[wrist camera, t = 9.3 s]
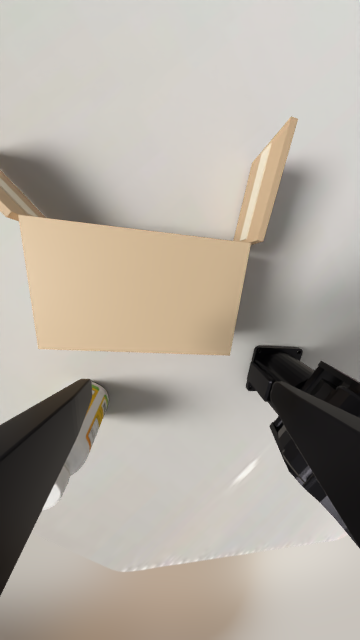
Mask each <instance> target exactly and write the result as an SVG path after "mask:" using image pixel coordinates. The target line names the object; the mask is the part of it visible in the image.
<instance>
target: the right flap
mask: <svg viewBox="0 0 360 640" xmlns="http://www.w3.org/2000/svg"><path fill="white" fill-rule="evenodd" d="M297 121H298V119H297V118H294V117H290V119H289V120H288V121H287V122H286V123H285V125H284V126H283V127H282V128H281V129H280V131H279V132H278V133H277V134H276V135H275V137H274V138H273V139H272V140H271V141H270V142H269V144H268V145H267V146H266V147H265V148H264V150H263V151H262V152H261V153H260V154H259V156H258V157H257V158H256V159H255V160H254V161H253V163H252V166H251V170H250V174H249V178H248V182H247V186H246V191H245V195H244V199H243V203H242V207H241V211H240V215H239V220H238V224H237V228H236V232H235V236H234V240H233V241H237V242H245V243H251V245H253V244H256V243H260V242H263V240H264V237H265V233H266V230H267V226H268V223H269V219H270V216H271V212H272V209H273V205H274V202H275V198H276V195H277V191H278V187H279V184H280V180H281V177H282V173H283V170H284V166H285V163H286V159H287V156H288V152H289V149H290V145H291V142H292V138H293V135H294V131H295V128H296V124H297Z"/></svg>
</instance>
